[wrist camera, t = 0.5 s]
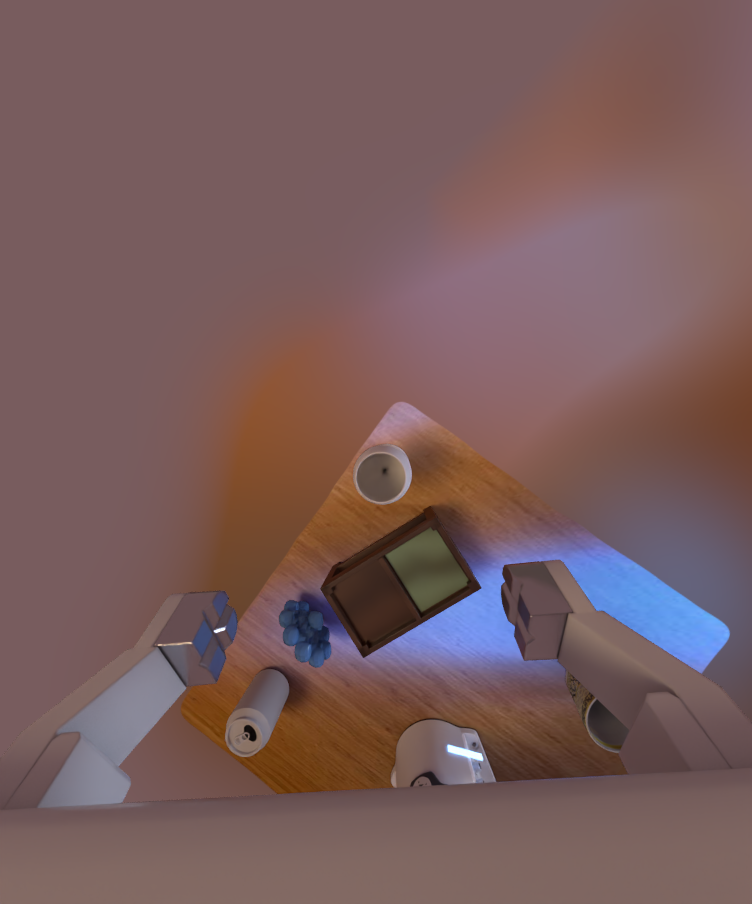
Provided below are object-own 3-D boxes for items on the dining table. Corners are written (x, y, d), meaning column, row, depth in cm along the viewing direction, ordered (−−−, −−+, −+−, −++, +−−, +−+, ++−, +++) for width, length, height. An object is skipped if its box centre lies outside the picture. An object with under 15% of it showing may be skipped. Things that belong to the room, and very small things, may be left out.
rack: (468, 564, 61) (482, 588, 51) (369, 623, 63) (363, 658, 52) (430, 505, 61) (436, 517, 51) (332, 565, 63) (319, 589, 53)
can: (297, 693, 64) (274, 750, 52) (264, 709, 64) (234, 770, 52) (279, 659, 64) (252, 708, 52) (247, 675, 65) (212, 728, 53)
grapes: (351, 618, 63) (340, 659, 51) (328, 643, 63) (311, 689, 51) (307, 577, 63) (286, 607, 51) (284, 602, 64) (258, 638, 52)
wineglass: (359, 484, 62) (340, 504, 41) (368, 439, 62) (353, 436, 41) (404, 494, 62) (407, 518, 41) (414, 449, 61) (421, 450, 41)
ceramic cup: (543, 671, 61) (571, 715, 51) (586, 637, 60) (623, 676, 50) (591, 726, 60) (629, 782, 50) (634, 693, 59) (682, 742, 49)
